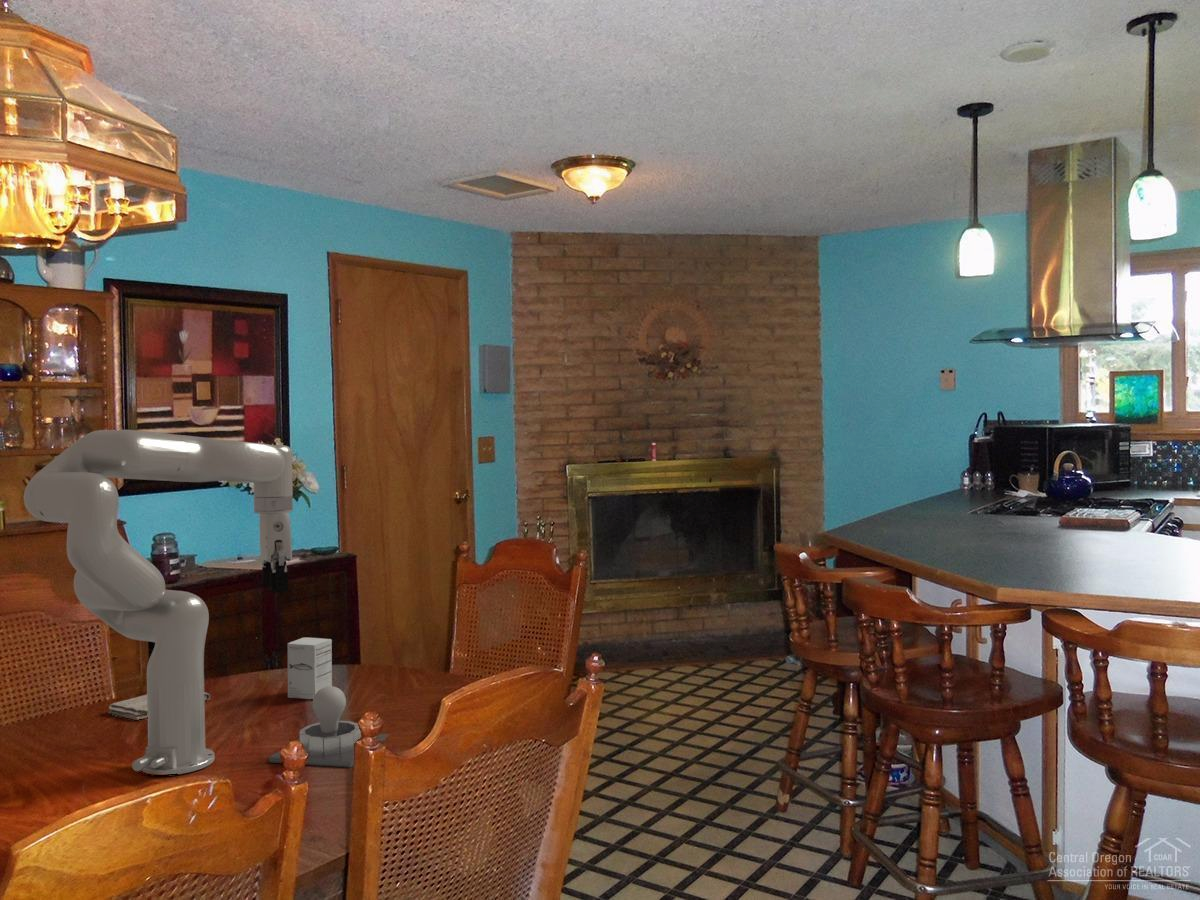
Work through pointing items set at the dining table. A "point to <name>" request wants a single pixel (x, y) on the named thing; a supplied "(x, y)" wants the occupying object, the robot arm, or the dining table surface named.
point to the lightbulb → (329, 709)
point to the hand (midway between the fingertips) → (274, 588)
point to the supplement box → (309, 666)
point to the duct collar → (329, 745)
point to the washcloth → (135, 707)
